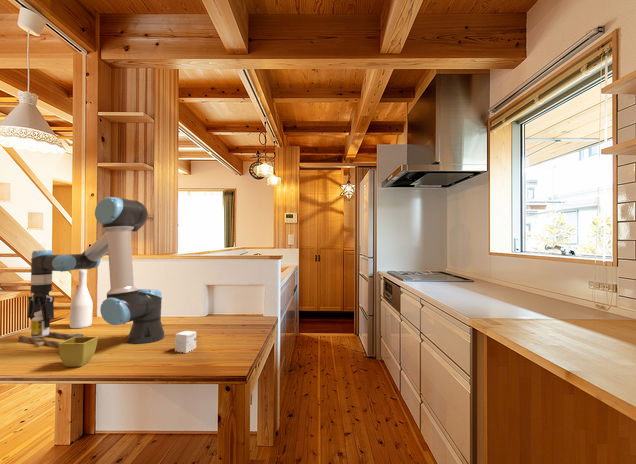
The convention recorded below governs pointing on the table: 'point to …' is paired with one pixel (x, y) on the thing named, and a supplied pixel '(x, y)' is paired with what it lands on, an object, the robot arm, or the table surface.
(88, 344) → the flower pot
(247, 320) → the table surface
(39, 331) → the pill bottle
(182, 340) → the skincare box
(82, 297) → the wine bottle
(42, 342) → the forked driftwood branch
